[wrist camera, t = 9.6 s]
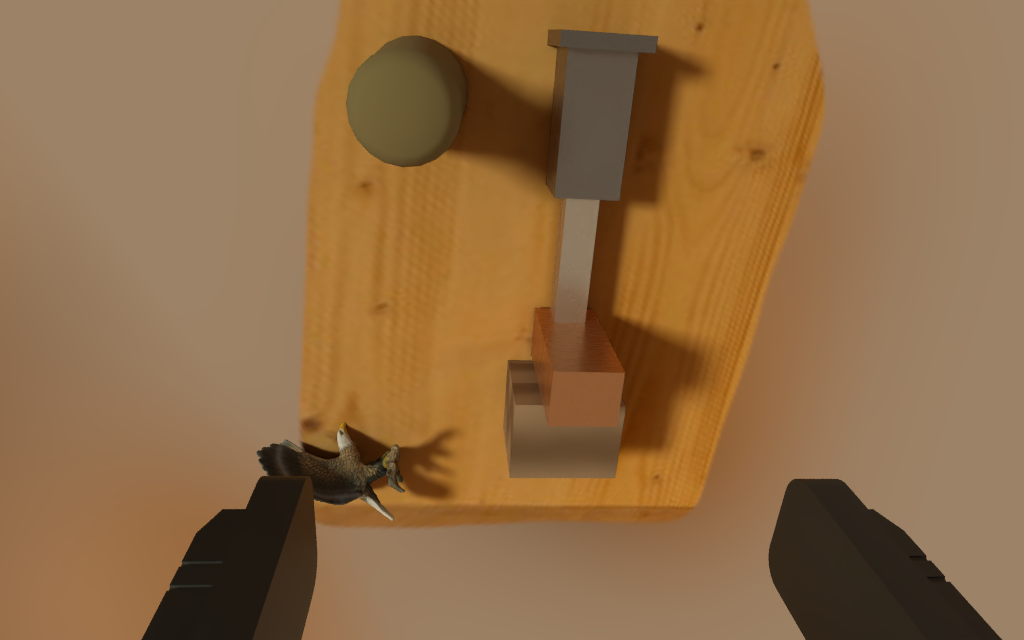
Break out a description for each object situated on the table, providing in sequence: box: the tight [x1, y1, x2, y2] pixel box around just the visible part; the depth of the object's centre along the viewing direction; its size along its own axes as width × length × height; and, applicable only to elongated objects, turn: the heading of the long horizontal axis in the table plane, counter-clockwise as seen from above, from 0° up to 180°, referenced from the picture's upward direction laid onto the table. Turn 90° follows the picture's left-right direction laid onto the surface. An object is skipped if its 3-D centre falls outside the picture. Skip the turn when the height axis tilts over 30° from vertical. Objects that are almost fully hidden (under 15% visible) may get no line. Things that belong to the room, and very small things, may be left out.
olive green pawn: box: [346, 36, 468, 167], centre depth 33 cm, size 6×6×11 cm
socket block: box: [504, 360, 626, 478], centre depth 45 cm, size 6×7×6 cm
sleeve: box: [546, 30, 658, 201], centre depth 37 cm, size 9×5×5 cm, turn 176°
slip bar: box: [531, 198, 625, 427], centre depth 39 cm, size 18×4×9 cm, turn 176°
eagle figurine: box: [257, 423, 405, 520], centre depth 45 cm, size 8×7×9 cm
